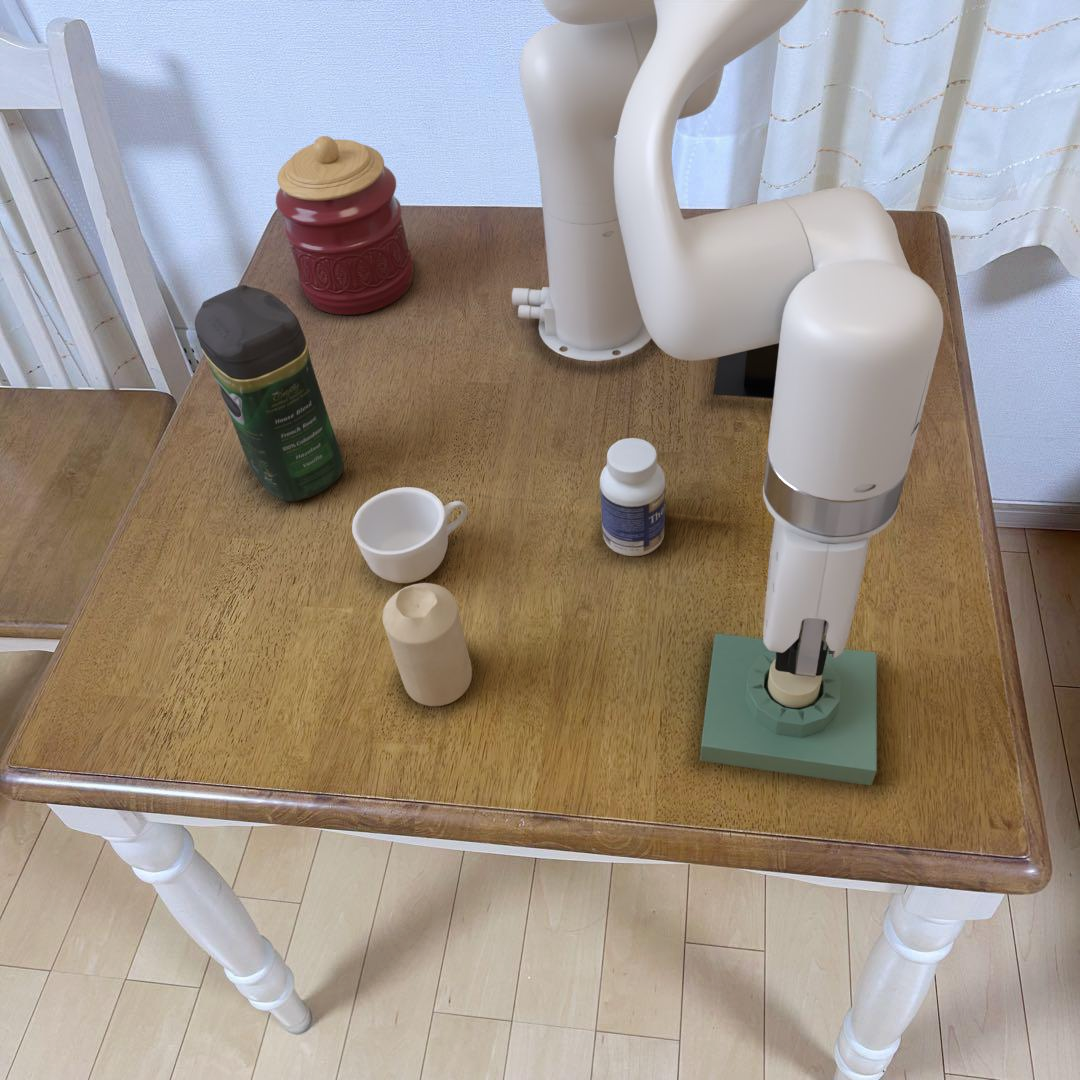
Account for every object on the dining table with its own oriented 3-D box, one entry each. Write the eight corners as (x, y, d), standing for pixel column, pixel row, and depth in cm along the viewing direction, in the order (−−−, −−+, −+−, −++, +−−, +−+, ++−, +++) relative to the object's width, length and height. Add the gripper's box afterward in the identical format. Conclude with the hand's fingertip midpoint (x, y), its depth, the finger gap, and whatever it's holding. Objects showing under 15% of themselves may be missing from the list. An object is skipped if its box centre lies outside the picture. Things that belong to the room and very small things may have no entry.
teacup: (385, 610, 86) (372, 569, 82) (352, 551, 90) (338, 510, 86) (491, 560, 88) (483, 518, 84) (453, 506, 93) (444, 464, 89)
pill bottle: (660, 561, 87) (661, 481, 79) (598, 555, 88) (593, 475, 80) (668, 515, 90) (669, 434, 83) (608, 509, 91) (604, 429, 84)
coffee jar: (359, 476, 97) (310, 314, 83) (285, 516, 94) (222, 356, 80) (310, 424, 102) (257, 265, 88) (239, 462, 99) (173, 303, 85)
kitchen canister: (390, 323, 112) (355, 175, 99) (285, 311, 115) (237, 166, 102) (431, 257, 120) (403, 111, 107) (331, 247, 123) (292, 104, 110)
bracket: (820, 358, 102) (836, 256, 94) (818, 411, 97) (834, 308, 88) (720, 351, 104) (726, 251, 96) (712, 403, 99) (718, 302, 90)
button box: (699, 761, 74) (701, 732, 71) (713, 649, 80) (716, 618, 77) (871, 786, 72) (881, 757, 69) (872, 668, 78) (880, 637, 75)
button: (766, 704, 72) (768, 691, 71) (769, 663, 75) (771, 649, 73) (818, 711, 72) (821, 698, 70) (819, 669, 74) (822, 655, 73)
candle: (483, 657, 82) (465, 578, 74) (457, 714, 78) (436, 638, 71) (420, 642, 83) (397, 563, 76) (392, 697, 80) (365, 621, 72)
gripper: (773, 386, 63) (751, 576, 76) (755, 570, 53) (734, 750, 67) (900, 395, 61) (855, 587, 75) (905, 586, 52) (853, 767, 65)
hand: (798, 663), depth 71 cm, fingers closed
